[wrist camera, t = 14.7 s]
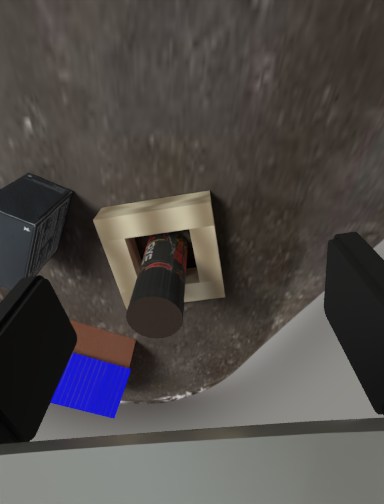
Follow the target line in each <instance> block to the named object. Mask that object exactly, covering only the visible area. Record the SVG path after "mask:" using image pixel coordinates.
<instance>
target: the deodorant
mask: <svg viewBox="0 0 384 504" xmlns="http://www.w3.org/2000/svg"><path fill="white" fill-rule="evenodd" d="M187 250H188V245H187V241H186V239H185V237H184V236H183V235H182V234H181V233H179V232H178V231H173V232H166V233H159V234H153V235H151V236H150V237H149V240H148V243H147V246H146V249H145V253H144V256H143V259H142V263H141V266H140V269H139V273H138V276H137V279H136V283H135V286H134V289H133V293H132V296H131V299H130V303H129V306H128V309H127V316H126V318H127V321H128V324H129V325H130V326H131V328H132V329H133V330H135V331H136V332H137V333H139V334H141V335H143V336H146V337H150V338H164V337H168V336H171V335H172V334H174V333H176V332H177V331H178V330H179V329H180V327H181V325H182V321H183V310H184V295H185V280H186V265H187Z"/></svg>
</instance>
